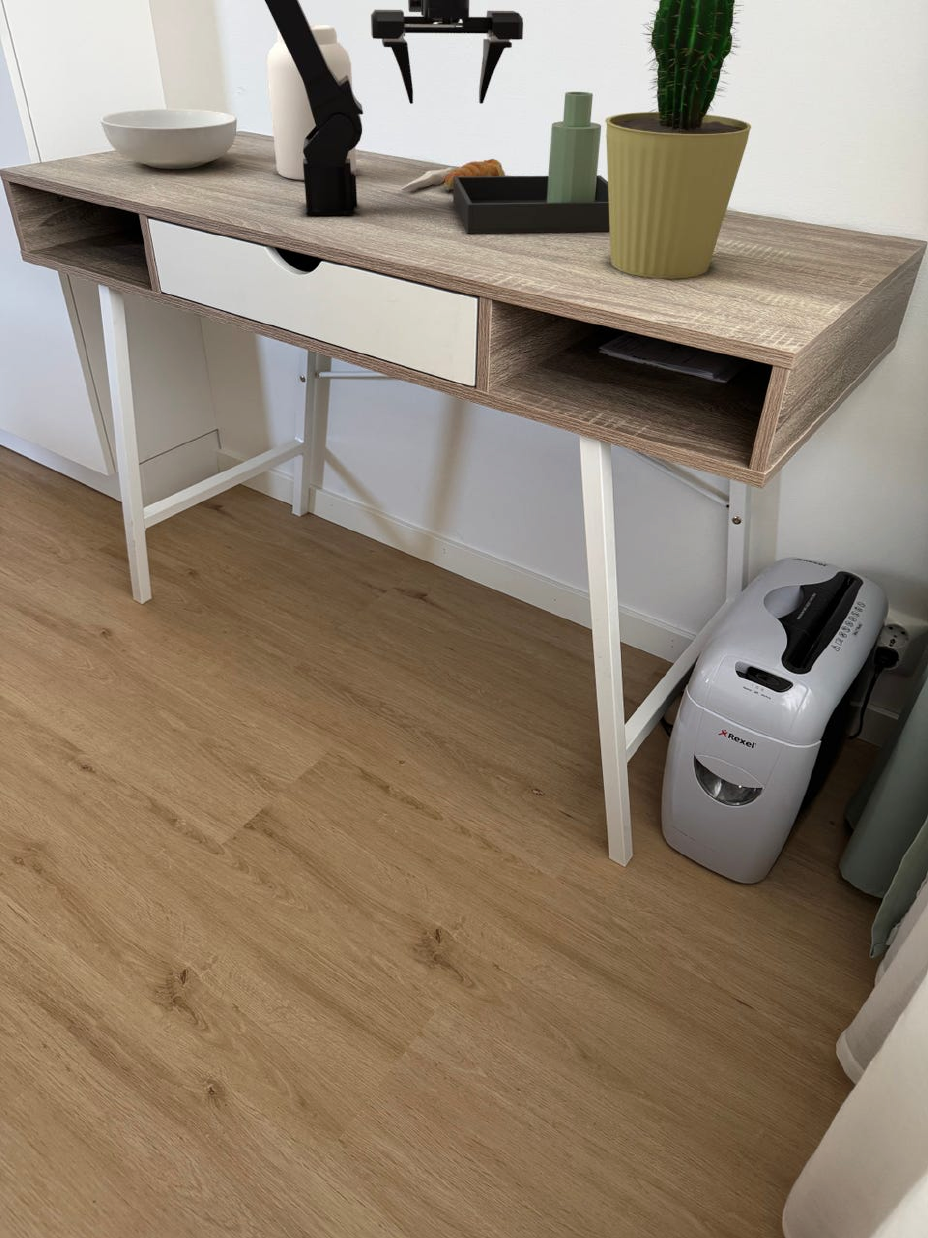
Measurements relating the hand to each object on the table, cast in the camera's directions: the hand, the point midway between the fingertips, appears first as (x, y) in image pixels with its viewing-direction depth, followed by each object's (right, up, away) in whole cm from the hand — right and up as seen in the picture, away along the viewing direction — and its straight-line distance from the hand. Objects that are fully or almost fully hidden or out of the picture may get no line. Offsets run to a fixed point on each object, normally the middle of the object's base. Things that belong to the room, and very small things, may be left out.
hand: (446, 102), depth 121 cm
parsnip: (-3, -2, +20) cm, 20 cm away
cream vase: (-21, +3, +26) cm, 33 cm away
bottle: (+17, -14, +3) cm, 22 cm away
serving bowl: (-45, +7, +31) cm, 55 cm away
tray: (+12, -13, +5) cm, 18 cm away
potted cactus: (+25, -26, -13) cm, 39 cm away
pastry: (+4, -3, +19) cm, 19 cm away
